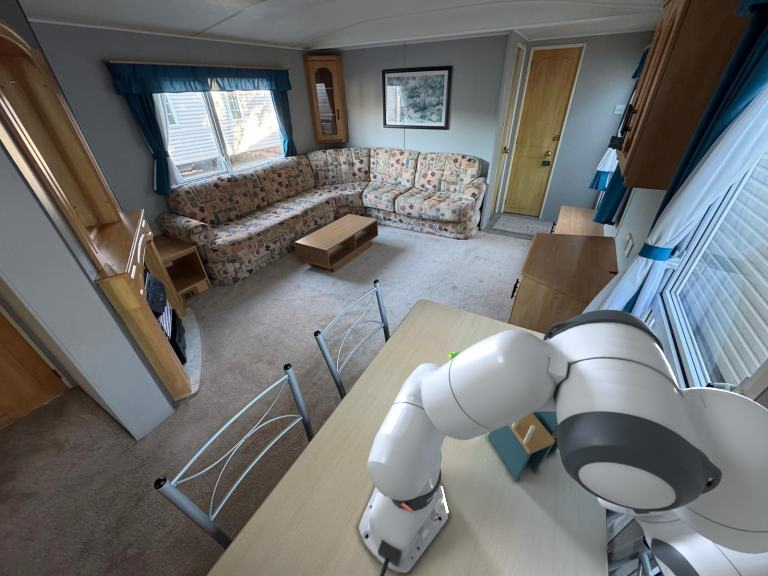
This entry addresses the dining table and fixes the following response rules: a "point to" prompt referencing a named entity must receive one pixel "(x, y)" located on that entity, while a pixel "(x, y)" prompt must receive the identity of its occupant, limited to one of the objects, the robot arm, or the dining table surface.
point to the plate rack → (526, 441)
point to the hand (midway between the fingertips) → (606, 413)
